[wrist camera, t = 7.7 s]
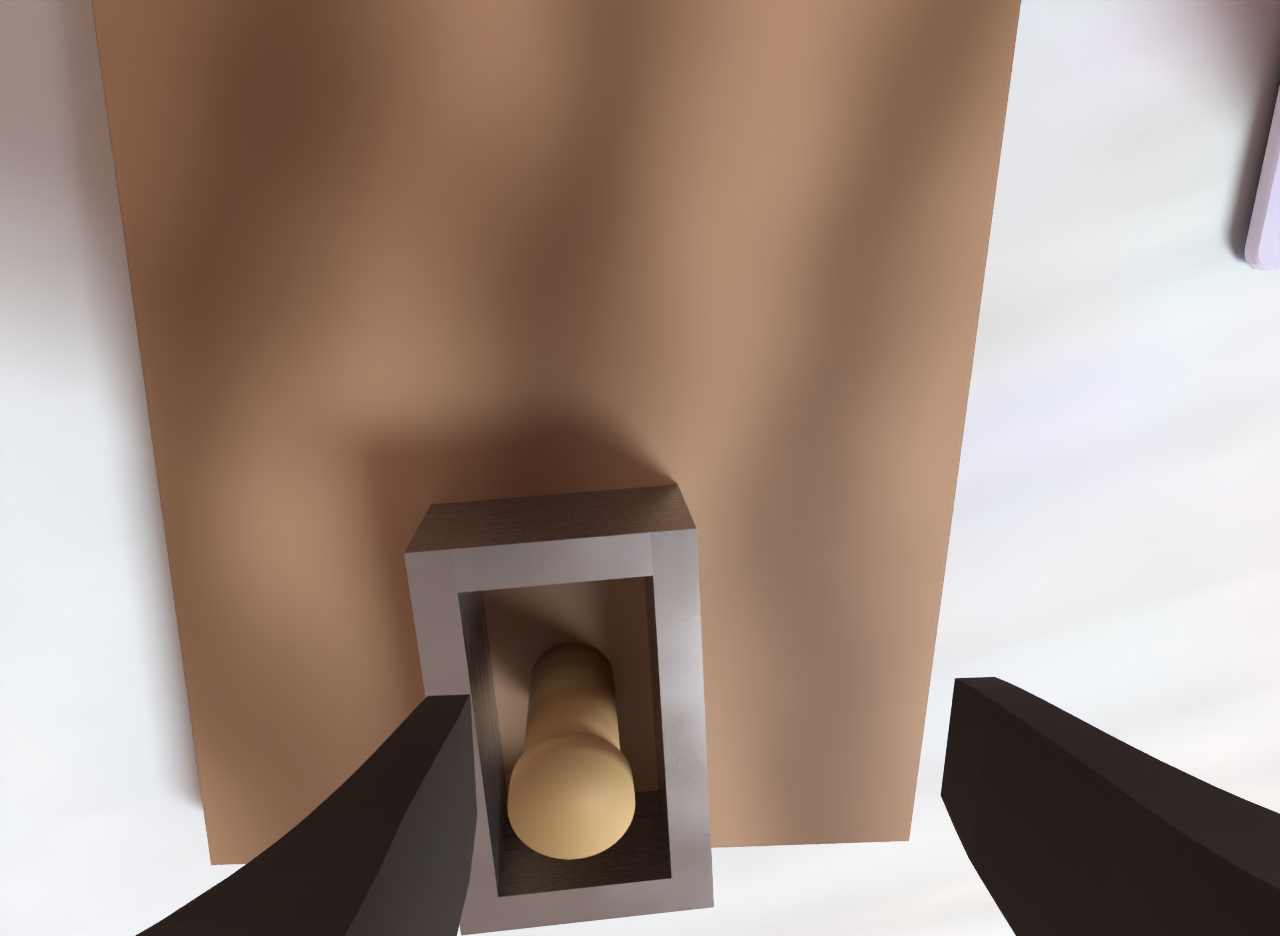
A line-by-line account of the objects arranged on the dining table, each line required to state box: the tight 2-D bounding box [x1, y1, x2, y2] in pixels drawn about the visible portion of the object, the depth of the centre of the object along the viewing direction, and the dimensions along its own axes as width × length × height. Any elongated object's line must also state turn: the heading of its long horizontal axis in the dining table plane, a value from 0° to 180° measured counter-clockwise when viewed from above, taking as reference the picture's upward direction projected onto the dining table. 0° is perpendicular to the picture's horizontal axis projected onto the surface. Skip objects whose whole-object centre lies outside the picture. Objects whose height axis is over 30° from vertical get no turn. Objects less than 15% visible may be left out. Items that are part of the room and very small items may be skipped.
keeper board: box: [92, 0, 1021, 865], centre depth 16 cm, size 18×24×6 cm
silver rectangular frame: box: [404, 484, 714, 935], centre depth 18 cm, size 6×9×3 cm, turn 4°
